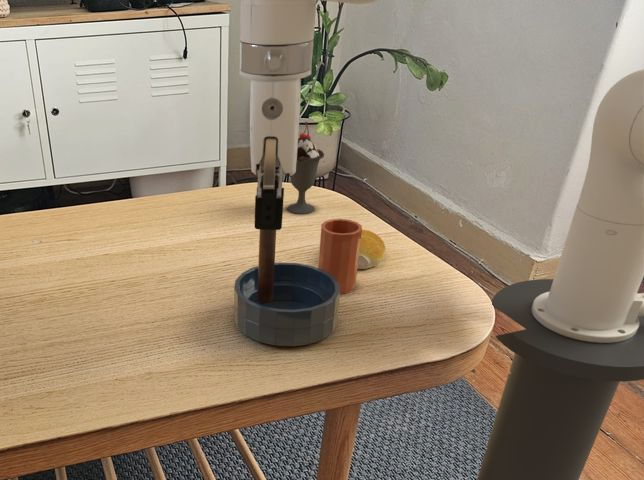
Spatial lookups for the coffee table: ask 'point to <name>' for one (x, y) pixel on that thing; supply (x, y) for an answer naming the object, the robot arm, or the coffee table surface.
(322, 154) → the sundae
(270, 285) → the stirring stick
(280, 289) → the bowl
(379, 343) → the coffee table surface
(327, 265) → the crock
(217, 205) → the coffee table surface
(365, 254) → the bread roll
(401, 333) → the coffee table surface
